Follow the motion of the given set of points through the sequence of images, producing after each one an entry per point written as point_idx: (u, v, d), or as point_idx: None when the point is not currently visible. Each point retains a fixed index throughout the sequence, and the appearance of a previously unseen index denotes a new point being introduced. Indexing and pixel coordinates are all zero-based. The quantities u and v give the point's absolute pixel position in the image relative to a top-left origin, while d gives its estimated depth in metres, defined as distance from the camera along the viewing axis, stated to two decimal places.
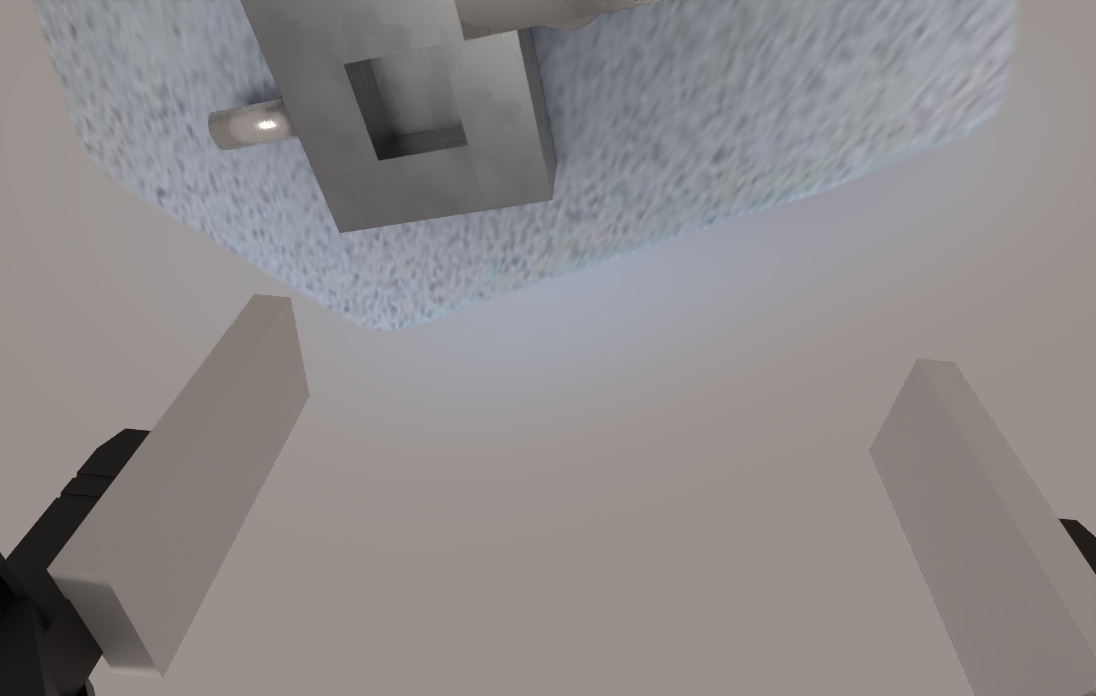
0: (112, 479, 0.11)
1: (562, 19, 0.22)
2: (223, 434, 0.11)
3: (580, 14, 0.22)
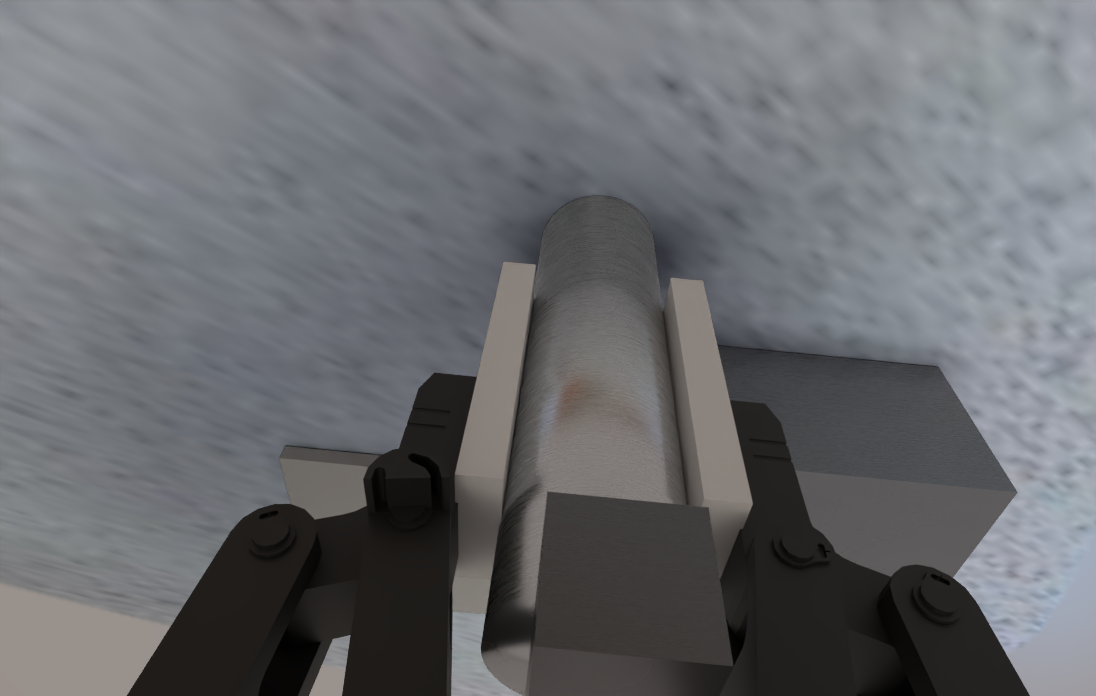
0: (443, 412, 0.12)
1: None
2: (520, 378, 0.13)
3: None
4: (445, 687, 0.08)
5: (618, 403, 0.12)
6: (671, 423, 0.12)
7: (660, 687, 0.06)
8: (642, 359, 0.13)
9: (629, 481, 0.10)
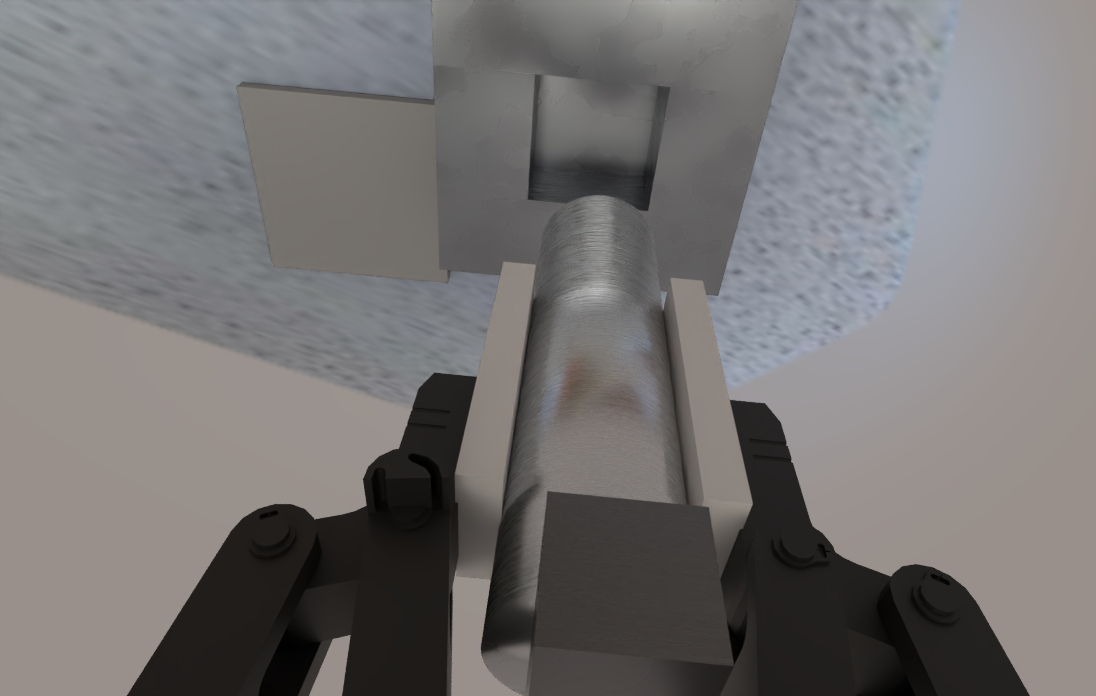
0: (443, 412, 0.12)
1: None
2: (521, 378, 0.13)
3: None
4: (445, 687, 0.08)
5: (617, 403, 0.12)
6: (671, 423, 0.12)
7: (661, 687, 0.06)
8: (643, 359, 0.13)
9: (629, 481, 0.10)
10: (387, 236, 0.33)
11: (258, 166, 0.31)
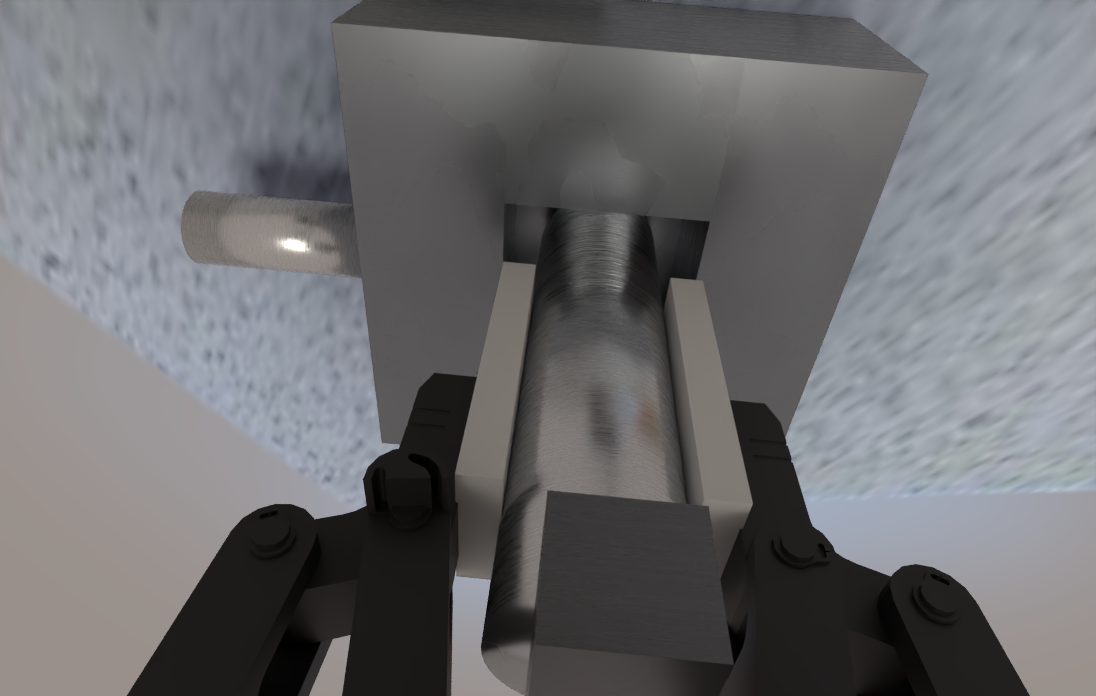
0: (443, 412, 0.12)
1: None
2: (521, 378, 0.13)
3: None
4: (445, 687, 0.08)
5: (618, 402, 0.12)
6: (671, 422, 0.12)
7: (661, 685, 0.06)
8: (642, 358, 0.13)
9: (629, 480, 0.10)
10: None
11: None
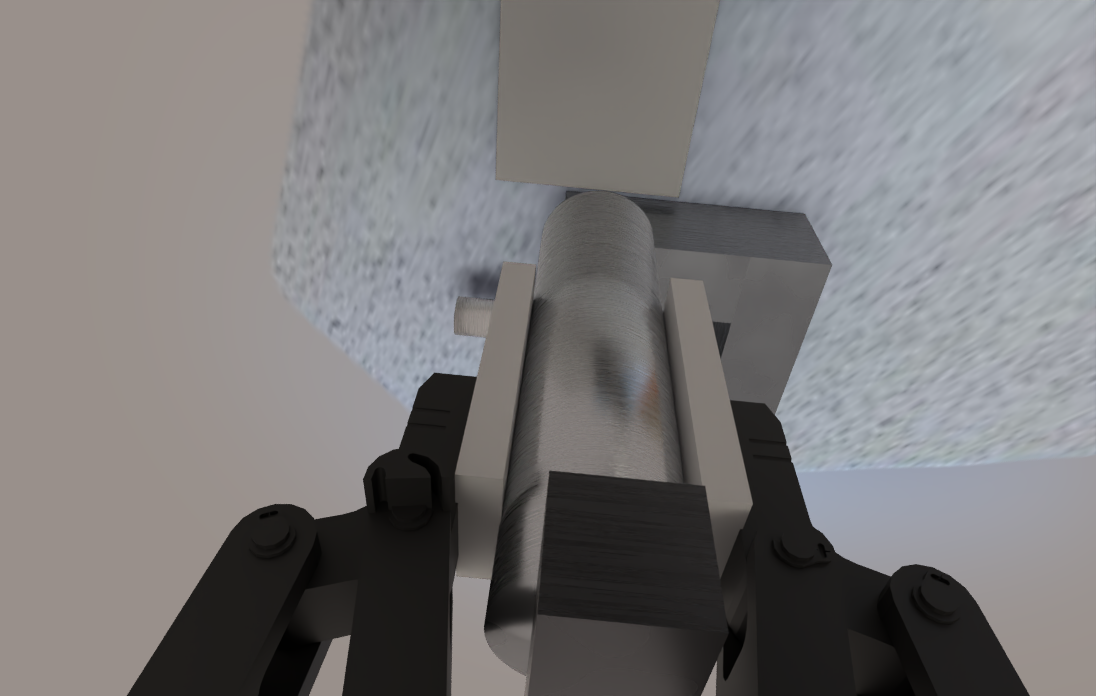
0: (443, 412, 0.12)
1: None
2: (521, 378, 0.13)
3: None
4: (445, 687, 0.08)
5: (617, 391, 0.12)
6: (670, 411, 0.12)
7: (657, 655, 0.07)
8: (642, 350, 0.13)
9: (628, 465, 0.11)
10: (548, 125, 0.31)
11: None
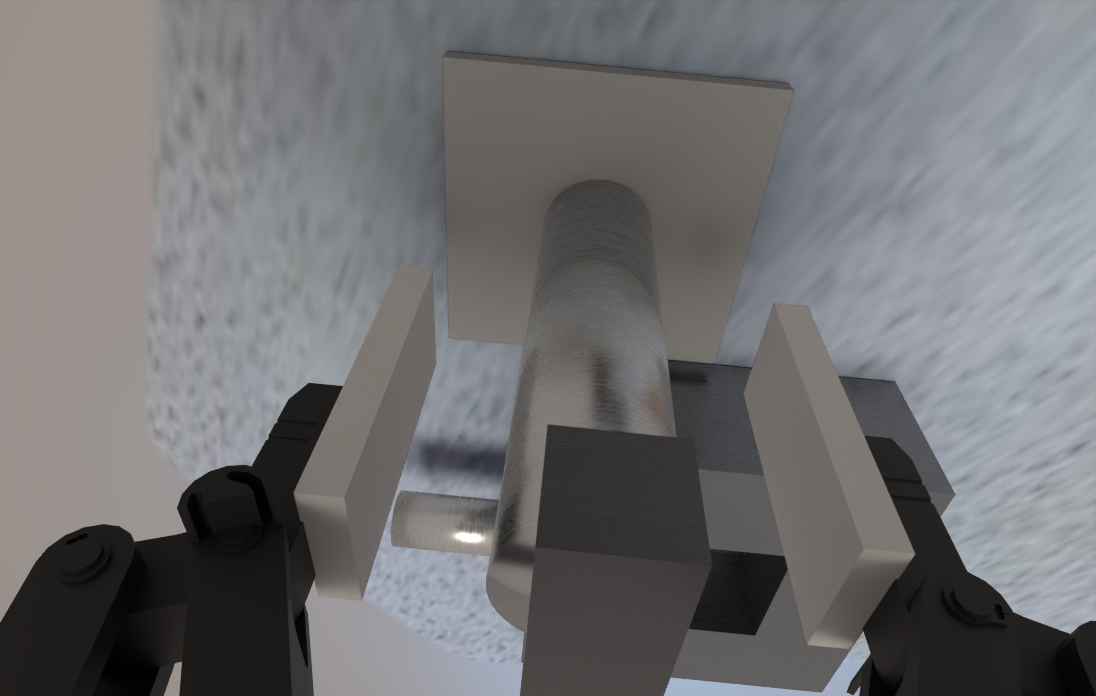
0: (309, 425, 0.12)
1: None
2: (397, 388, 0.13)
3: None
4: None
5: (614, 364, 0.12)
6: (665, 385, 0.13)
7: (647, 588, 0.07)
8: (639, 327, 0.14)
9: (624, 432, 0.11)
10: (522, 270, 0.21)
11: (651, 88, 0.17)
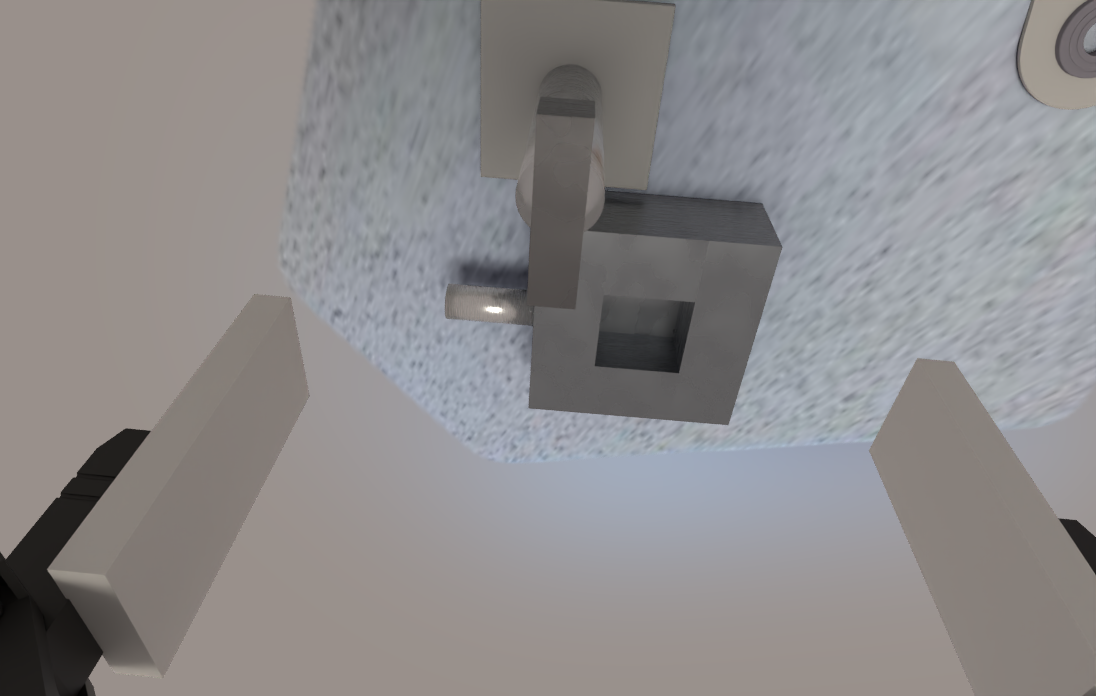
0: (112, 479, 0.11)
1: (582, 227, 0.23)
2: (223, 434, 0.11)
3: (583, 211, 0.22)
4: None
5: None
6: (598, 136, 0.27)
7: (575, 133, 0.21)
8: None
9: None
10: (526, 126, 0.35)
11: (597, 7, 0.31)
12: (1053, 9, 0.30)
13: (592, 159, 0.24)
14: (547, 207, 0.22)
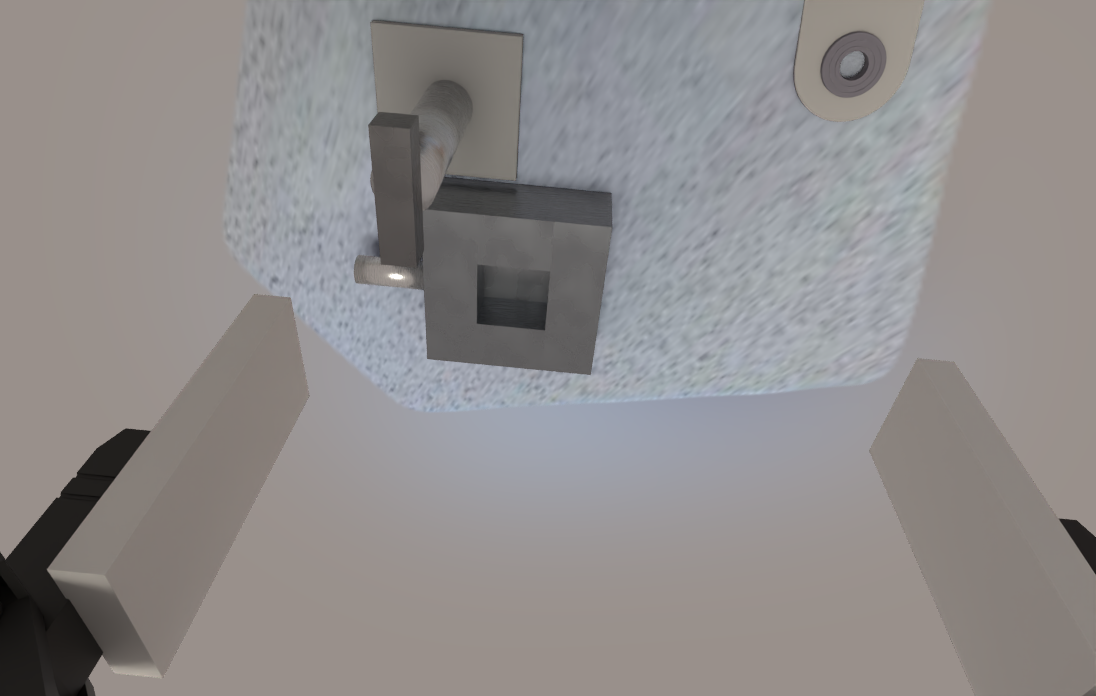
0: (112, 479, 0.11)
1: (412, 206, 0.31)
2: (224, 434, 0.11)
3: (411, 194, 0.31)
4: None
5: (422, 127, 0.35)
6: (444, 139, 0.35)
7: (397, 139, 0.30)
8: (438, 121, 0.36)
9: None
10: None
11: (461, 36, 0.40)
12: (814, 44, 0.39)
13: (426, 157, 0.33)
14: (385, 191, 0.31)
